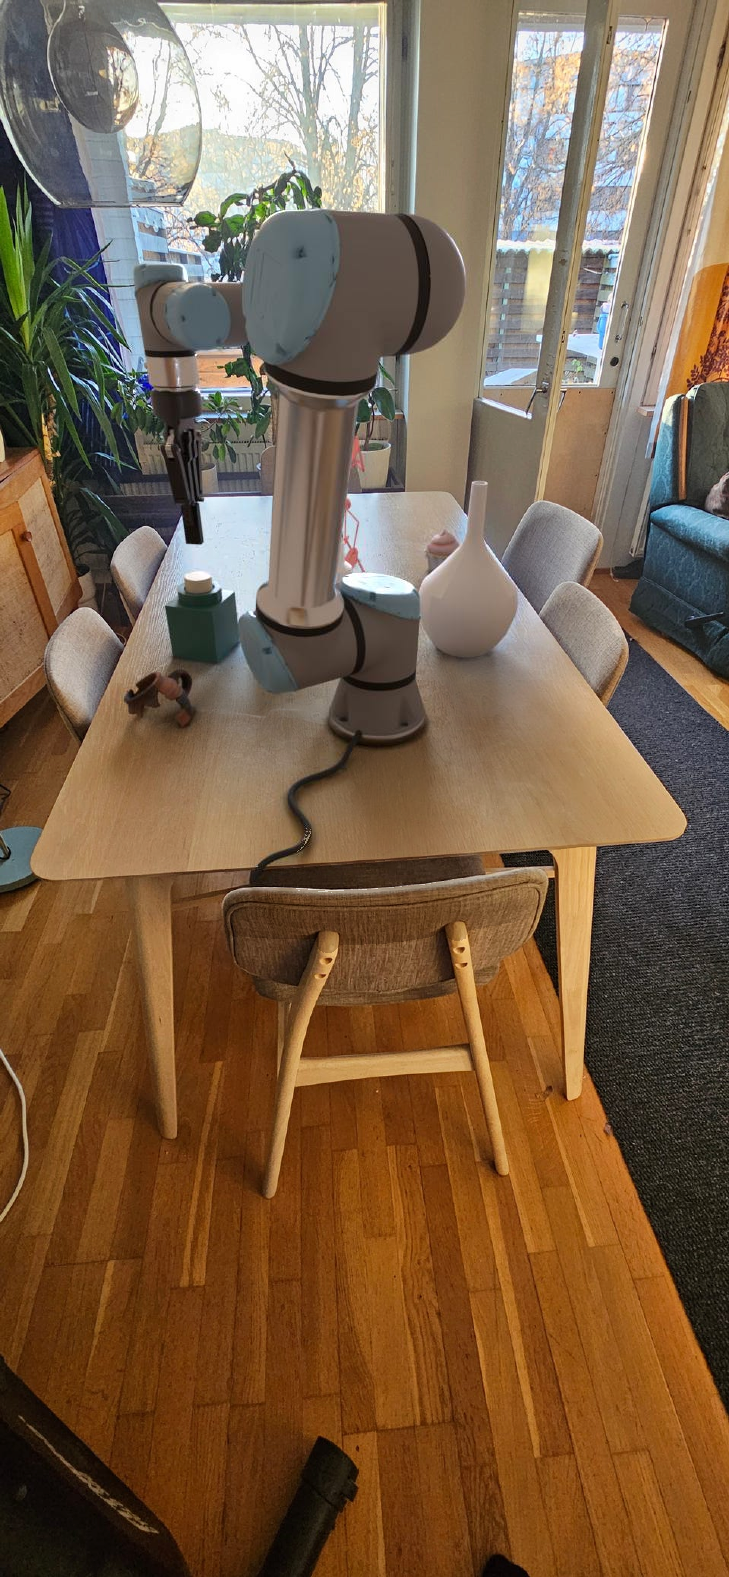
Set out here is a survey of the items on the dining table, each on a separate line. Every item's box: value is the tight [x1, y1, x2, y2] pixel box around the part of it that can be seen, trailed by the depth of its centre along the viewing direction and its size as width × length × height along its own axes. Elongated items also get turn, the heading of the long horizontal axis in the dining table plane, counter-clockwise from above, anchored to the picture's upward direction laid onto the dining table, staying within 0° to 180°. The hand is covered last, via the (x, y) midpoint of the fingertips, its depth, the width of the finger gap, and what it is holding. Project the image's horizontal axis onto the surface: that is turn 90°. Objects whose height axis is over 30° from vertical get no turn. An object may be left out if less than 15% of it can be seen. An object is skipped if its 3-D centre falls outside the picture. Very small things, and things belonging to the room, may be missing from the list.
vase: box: [418, 480, 519, 658], centre depth 129 cm, size 18×18×30 cm
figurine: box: [343, 435, 366, 573], centre depth 161 cm, size 15×26×35 cm, turn 12°
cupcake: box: [423, 529, 460, 574], centre depth 168 cm, size 9×9×10 cm
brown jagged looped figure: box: [123, 668, 195, 727], centre depth 115 cm, size 12×10×8 cm
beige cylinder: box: [183, 570, 213, 593], centre depth 128 cm, size 5×5×3 cm
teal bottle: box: [164, 580, 240, 664], centre depth 132 cm, size 10×9×12 cm
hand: (194, 543), depth 124 cm, fingers closed
